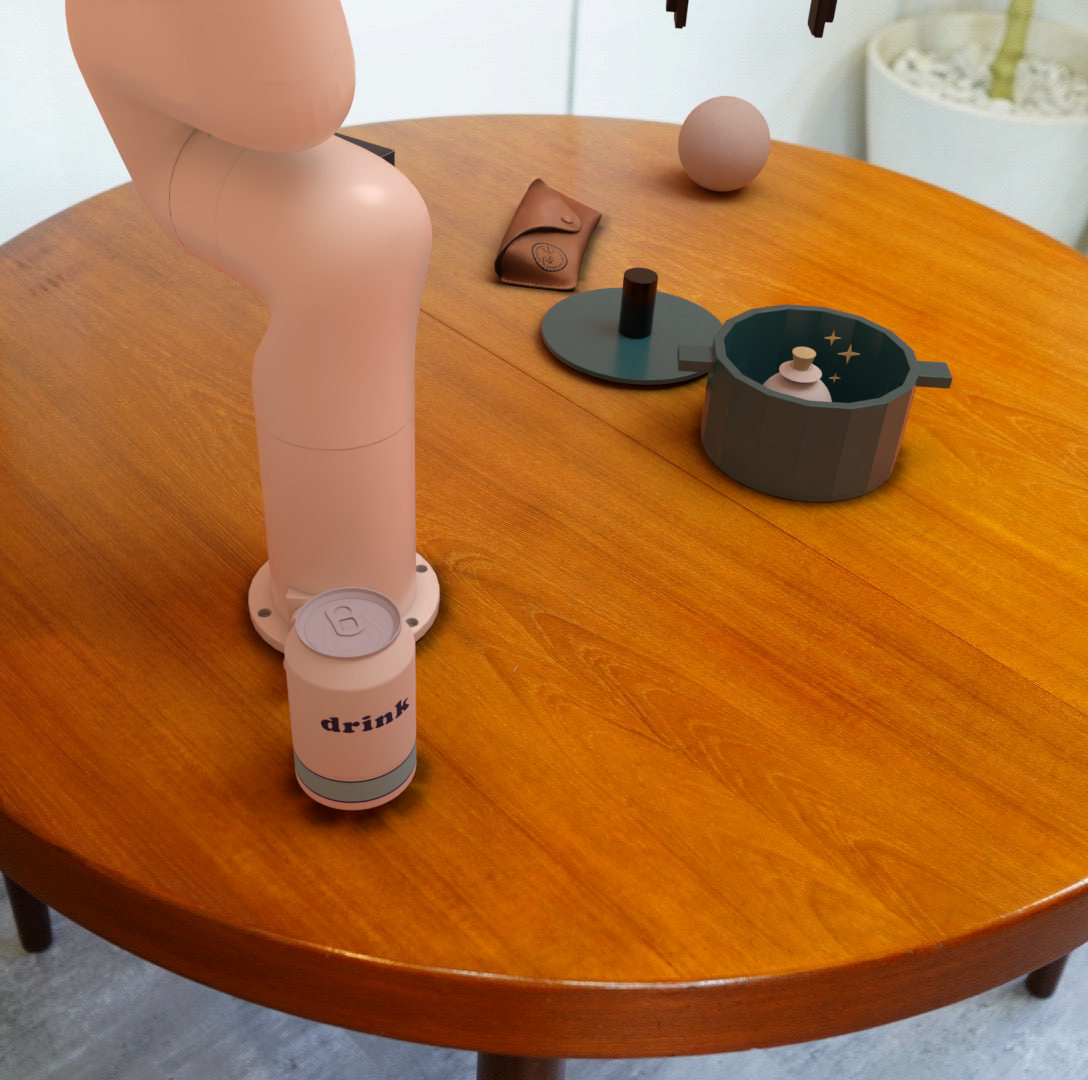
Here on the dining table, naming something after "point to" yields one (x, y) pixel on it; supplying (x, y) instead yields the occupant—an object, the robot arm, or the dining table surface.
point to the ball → (724, 143)
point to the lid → (628, 331)
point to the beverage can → (352, 698)
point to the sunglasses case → (545, 240)
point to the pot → (807, 402)
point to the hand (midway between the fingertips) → (746, 27)
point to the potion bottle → (803, 376)
